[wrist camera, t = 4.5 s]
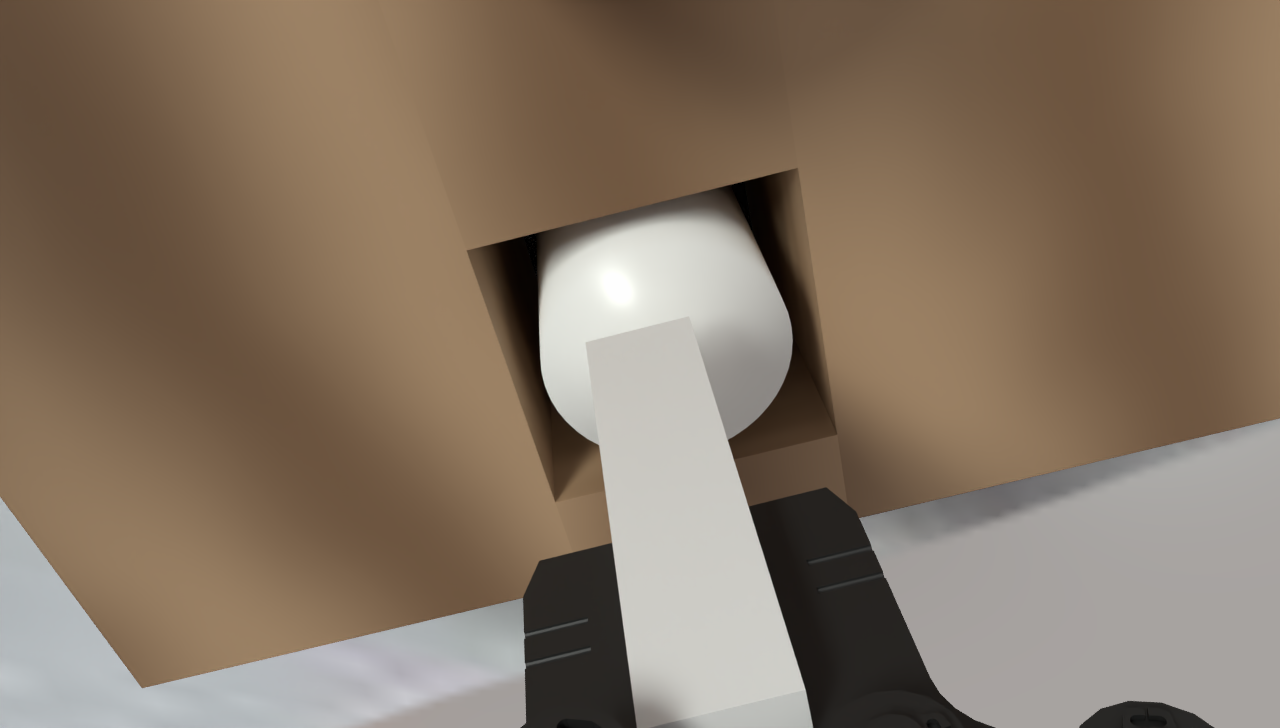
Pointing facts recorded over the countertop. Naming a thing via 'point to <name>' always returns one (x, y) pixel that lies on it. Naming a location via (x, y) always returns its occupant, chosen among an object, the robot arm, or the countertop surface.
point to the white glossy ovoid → (663, 300)
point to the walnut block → (508, 288)
